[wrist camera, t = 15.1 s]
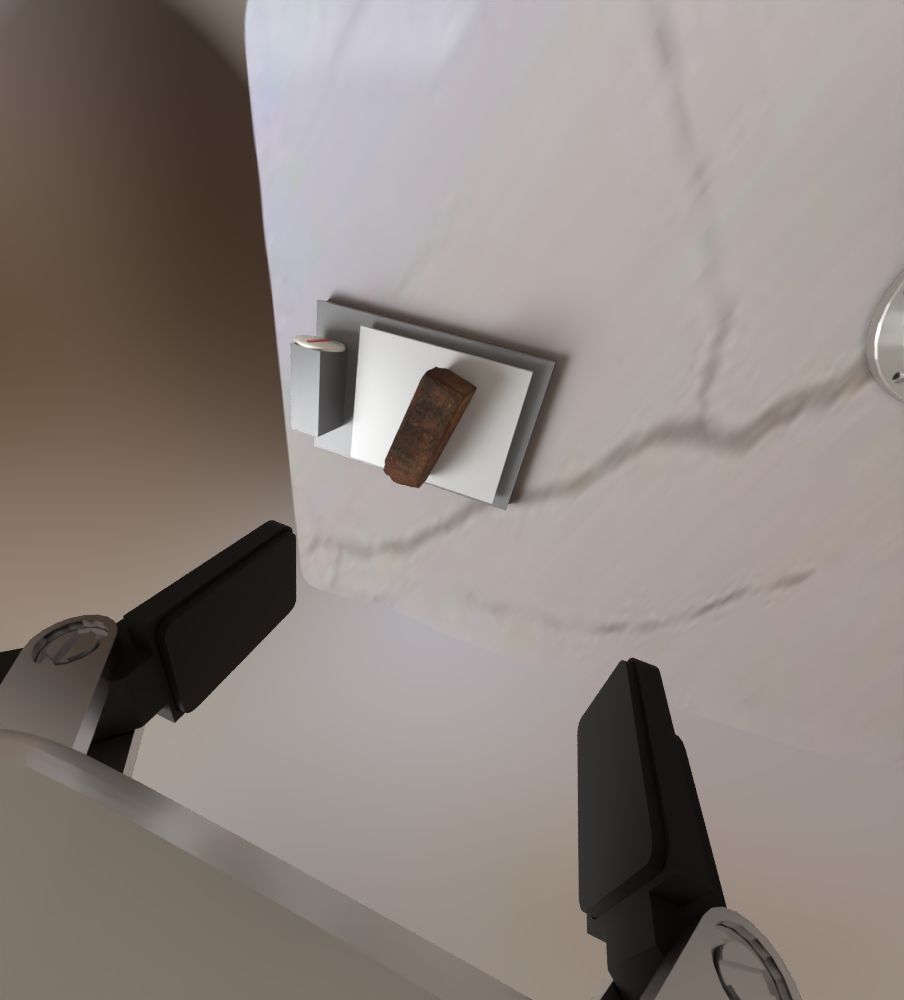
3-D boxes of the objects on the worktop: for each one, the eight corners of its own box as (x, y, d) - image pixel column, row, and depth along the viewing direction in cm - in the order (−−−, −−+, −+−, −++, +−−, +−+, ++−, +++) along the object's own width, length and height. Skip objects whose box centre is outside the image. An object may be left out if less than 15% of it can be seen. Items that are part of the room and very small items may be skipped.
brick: (441, 363, 32) (422, 369, 28) (479, 387, 32) (465, 397, 28) (396, 457, 38) (375, 474, 34) (429, 478, 37) (411, 497, 33)
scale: (555, 361, 32) (552, 368, 27) (508, 504, 39) (498, 531, 34) (324, 300, 36) (282, 296, 31) (320, 441, 43) (285, 458, 38)
